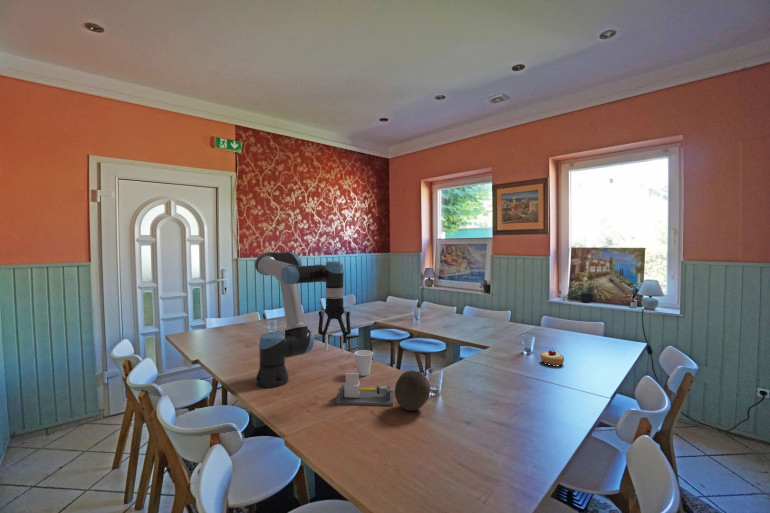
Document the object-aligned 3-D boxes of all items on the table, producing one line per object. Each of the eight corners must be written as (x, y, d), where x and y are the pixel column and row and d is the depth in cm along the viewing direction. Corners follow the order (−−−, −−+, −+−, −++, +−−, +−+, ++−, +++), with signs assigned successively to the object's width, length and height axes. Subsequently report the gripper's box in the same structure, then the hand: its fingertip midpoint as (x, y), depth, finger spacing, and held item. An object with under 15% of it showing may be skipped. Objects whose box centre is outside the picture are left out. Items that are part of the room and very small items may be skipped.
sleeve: (344, 397, 152) (344, 375, 152) (346, 392, 157) (346, 371, 157) (358, 397, 152) (358, 375, 152) (359, 392, 157) (359, 371, 157)
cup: (370, 378, 178) (370, 356, 177) (351, 376, 180) (351, 355, 179) (375, 371, 188) (375, 350, 187) (357, 369, 190) (357, 349, 189)
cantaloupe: (420, 420, 136) (420, 381, 135) (388, 411, 143) (388, 374, 143) (435, 406, 148) (435, 370, 147) (405, 398, 155) (405, 364, 155)
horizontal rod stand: (335, 404, 149) (335, 390, 149) (340, 392, 161) (340, 379, 161) (392, 405, 148) (392, 392, 148) (393, 393, 160) (393, 381, 160)
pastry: (540, 366, 198) (540, 350, 198) (540, 359, 209) (540, 344, 209) (565, 368, 194) (564, 352, 193) (563, 361, 205) (562, 346, 204)
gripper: (310, 298, 150) (310, 352, 151) (355, 298, 149) (355, 353, 150) (314, 295, 158) (314, 347, 159) (358, 296, 157) (358, 348, 158)
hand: (334, 350), depth 154 cm, fingers open, 6 cm apart
